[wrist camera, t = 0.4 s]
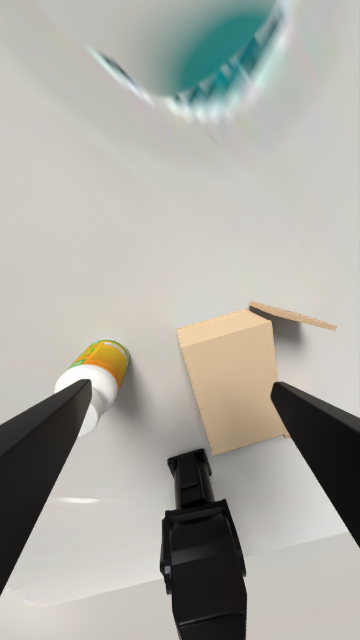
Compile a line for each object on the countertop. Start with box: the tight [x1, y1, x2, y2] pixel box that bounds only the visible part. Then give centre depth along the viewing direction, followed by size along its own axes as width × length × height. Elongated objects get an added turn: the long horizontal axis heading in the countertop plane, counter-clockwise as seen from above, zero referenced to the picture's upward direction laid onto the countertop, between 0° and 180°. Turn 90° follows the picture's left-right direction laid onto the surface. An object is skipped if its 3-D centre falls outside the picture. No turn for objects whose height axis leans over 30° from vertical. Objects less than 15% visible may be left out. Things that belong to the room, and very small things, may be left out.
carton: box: [176, 309, 283, 456], centre depth 22 cm, size 16×10×6 cm, turn 15°
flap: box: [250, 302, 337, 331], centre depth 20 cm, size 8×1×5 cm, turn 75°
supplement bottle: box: [55, 338, 129, 437], centre depth 18 cm, size 5×5×10 cm
